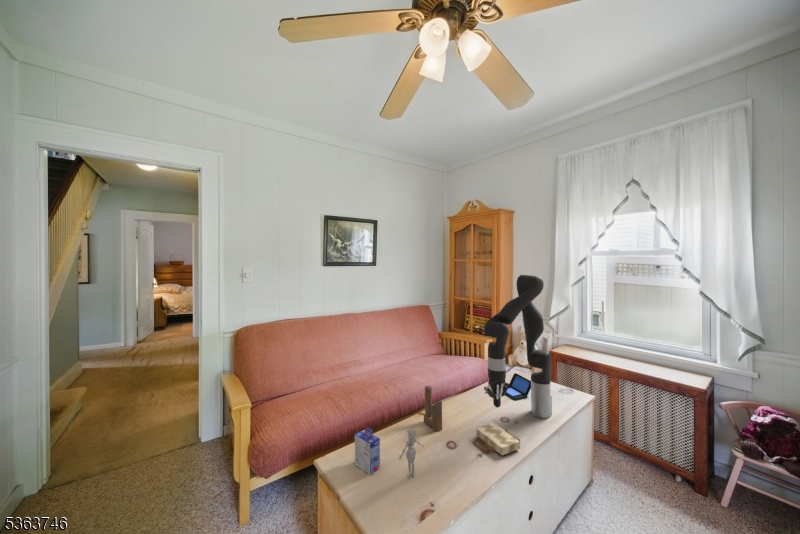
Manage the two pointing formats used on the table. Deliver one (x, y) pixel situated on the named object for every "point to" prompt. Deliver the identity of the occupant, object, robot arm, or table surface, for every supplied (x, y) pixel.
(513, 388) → the handheld game console
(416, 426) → the table surface
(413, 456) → the human figurine
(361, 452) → the ink cartridge box
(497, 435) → the oak plank
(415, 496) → the table surface
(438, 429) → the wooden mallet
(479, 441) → the floor panel
